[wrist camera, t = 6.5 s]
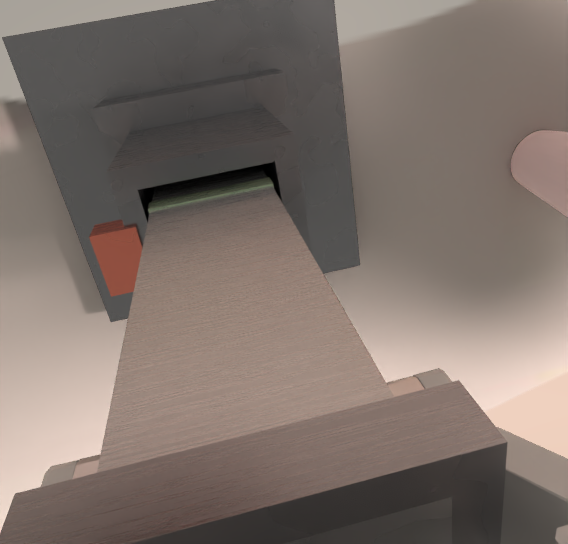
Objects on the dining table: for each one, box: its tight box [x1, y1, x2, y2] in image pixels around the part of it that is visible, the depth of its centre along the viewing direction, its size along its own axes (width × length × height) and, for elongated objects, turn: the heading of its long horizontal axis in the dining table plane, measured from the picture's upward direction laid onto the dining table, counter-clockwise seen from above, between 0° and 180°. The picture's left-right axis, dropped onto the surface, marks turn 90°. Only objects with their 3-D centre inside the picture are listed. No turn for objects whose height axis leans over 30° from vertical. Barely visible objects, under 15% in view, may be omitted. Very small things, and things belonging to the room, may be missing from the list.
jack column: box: [0, 165, 508, 544], centre depth 14 cm, size 5×5×18 cm
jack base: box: [2, 0, 360, 322], centre depth 23 cm, size 16×16×12 cm
